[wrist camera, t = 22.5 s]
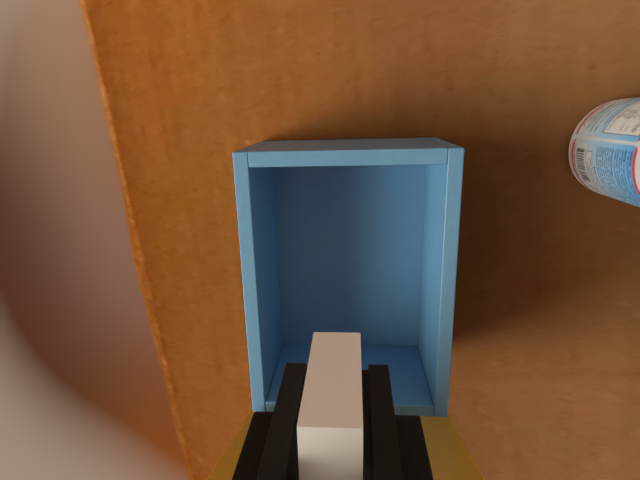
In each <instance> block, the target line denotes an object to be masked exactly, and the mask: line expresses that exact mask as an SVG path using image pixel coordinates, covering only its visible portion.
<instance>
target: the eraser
mask: <svg viewBox="0 0 640 480" xmlns="http://www.w3.org/2000/svg"><path fill="white" fill-rule="evenodd" d="M297 444H298V466H299V480H363V405H362V370H361V334H360V333H346V332H314V333H313V339H312V344H311V350H310V356H309V361H308V367H307V372H306V378H305V383H304V389H303V394H302V400H301V406H300V411H299V417H298V422H297Z"/></svg>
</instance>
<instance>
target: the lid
mask: <svg viewBox="0 0 640 480" xmlns="http://www.w3.org/2000/svg"><path fill="white" fill-rule="evenodd" d="M253 414H254V412H251V413H250V414H249V416H248V417H247V419H246V420H245V422H244V423H243V425H242V426H241V428H240V429H239V431H238V432H237V434H236V435H235V437H234V438H233V440H232V441H231V443H230V444H229V446H228V447H227V449H226V450H225V451H224V453H223V454H222V456H221V457H220V459H219V460H218V462H217V463H216V465H215V466H214V468H213V469H212V471H211V472H210V474H209V475H208V477H207V478H206V480H232V477H233V474H234V471H235V468H236V465H237V462H238V459H239V456H240V453H241V450H242V447H243V444H244V441H245V438H246V435H247V432H248V429H249V426H250V423H251V420H252V417H253ZM420 419H421V423H422V427H423V432H424V437H425V442H426V446H427V451H428V456H429V460H430V465H431V470H432V475H433V479H434V480H485V478H484V477H483V475H482V473H481V471H480V470H479V468H478V466H477V465H476V463H475V461H474V459H473V458H472V456H471V454H470V453H469V451H468V449H467V447H466V446H465V444H464V442H463V441H462V439H461V437H460V435H459V434H458V432H457V430H456V428H455V427H454V425H453V423H452V422H451V420H450V418H449V417H434V416H420Z"/></svg>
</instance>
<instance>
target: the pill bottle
mask: <svg viewBox="0 0 640 480" xmlns="http://www.w3.org/2000/svg"><path fill="white" fill-rule="evenodd" d="M568 157H569V164H570V168H571V170H572V172H573V174H574V176H575V177H576V179H577V180H578V181H579V182H580V183H581V184H582V185H583V186H585V187H586V188H588V189H589V190H591V191H594V192H596V193H599V194H602V195H604V196H608V197H611V198H614V199H617V200H620V201H623V202H626V203H629V204H631V205H634V206H637V207H640V97H637V98H623V99H617V100H612V101H609V102H606V103H604V104H602V105H600V106H598V107H596V108H595V109H593V110H592V111H591V112H589V113H588V114H587V115H586V116H585V117H584V118H583V119H582V120H581V121H580V123H579V124H578V126H577V127H576V129H575V130H574V133H573V135H572V137H571V140H570V144H569V151H568Z"/></svg>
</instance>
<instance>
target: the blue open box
mask: <svg viewBox="0 0 640 480" xmlns="http://www.w3.org/2000/svg"><path fill="white" fill-rule="evenodd" d="M464 150H465V149H464V148H463V147H460V146H458V145H455V144H452V143H450V142H447V141H444V140H442V139H439V138H437V137H431V138H383V139H334V140H286V141H262V142H259V143H256V144H254V145H251V146H248V147H245V148H243V149H240V150H237V151H235V152H233V153H232V154H233V167H234V179H235V192H236V205H237V217H238V230H239V243H240V255H241V268H242V281H243V294H244V306H245V319H246V332H247V344H248V357H249V370H250V382H251V395H252V408H253V412H256V411H261V412H273V411H274V408H275V404H276V400H277V396H278V392H279V389H280V385H281V381H282V377H283V374H284V370H285V366H286V363H306V364H307V367H308V361H309V356H310V350H311V344H312V339H313V333H314V332H346V333H360V334H361V370H368V364H382V365H388V367H389V375H390V382H391V390H392V398H393V405H394V413H395V415H417V416H434V417H447V415H448V400H449V384H450V368H451V353H452V337H453V321H454V306H455V290H456V275H457V259H458V243H459V228H460V212H461V197H462V181H463V165H464Z"/></svg>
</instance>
